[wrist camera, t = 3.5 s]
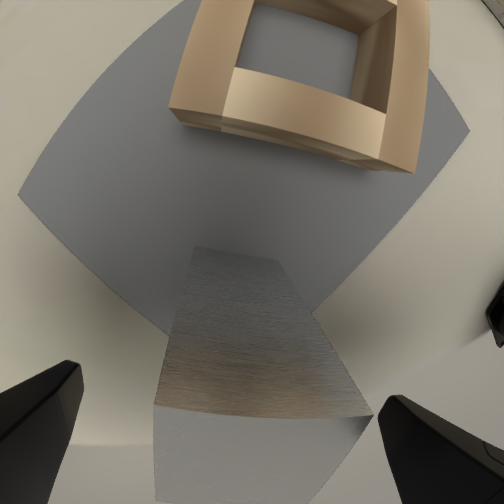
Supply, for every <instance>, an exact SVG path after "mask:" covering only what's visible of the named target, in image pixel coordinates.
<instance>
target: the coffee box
mask: <svg viewBox="0 0 504 504" xmlns="http://www.w3.org/2000/svg"><path fill="white" fill-rule="evenodd" d="M483 1H484V2H485V4H486V5H487V6H488V7H489V8H490V10H491V11H492V12H493V13H494V15H495V16H496V17H497V18H498V20H499V21H500V22H501V24H502V25H503V27H504V0H483Z"/></svg>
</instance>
